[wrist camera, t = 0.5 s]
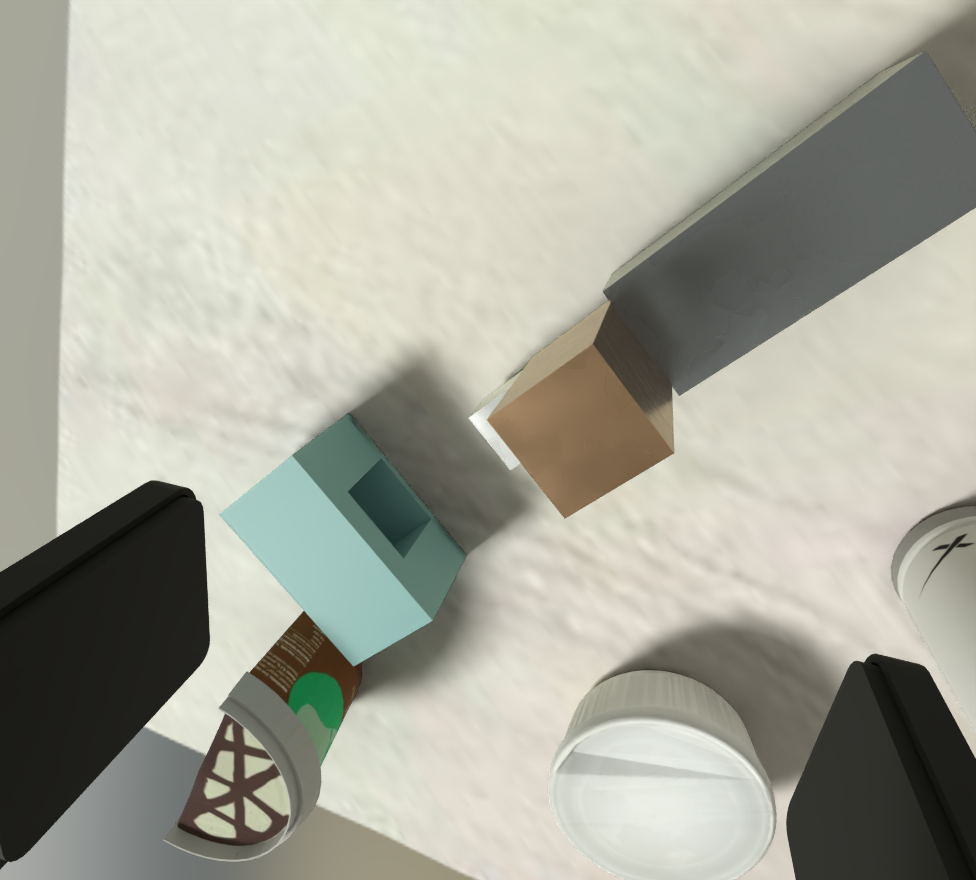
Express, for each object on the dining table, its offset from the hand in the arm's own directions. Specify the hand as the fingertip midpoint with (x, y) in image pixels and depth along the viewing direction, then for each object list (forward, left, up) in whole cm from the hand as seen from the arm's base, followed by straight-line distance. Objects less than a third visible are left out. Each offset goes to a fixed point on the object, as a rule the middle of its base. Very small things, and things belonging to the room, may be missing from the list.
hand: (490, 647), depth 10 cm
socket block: (-12, +11, -23) cm, 29 cm away
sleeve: (+5, -6, -23) cm, 24 cm away
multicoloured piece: (+2, -3, -22) cm, 23 cm away
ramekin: (-23, -7, -24) cm, 33 cm away
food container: (-25, +13, -24) cm, 37 cm away
